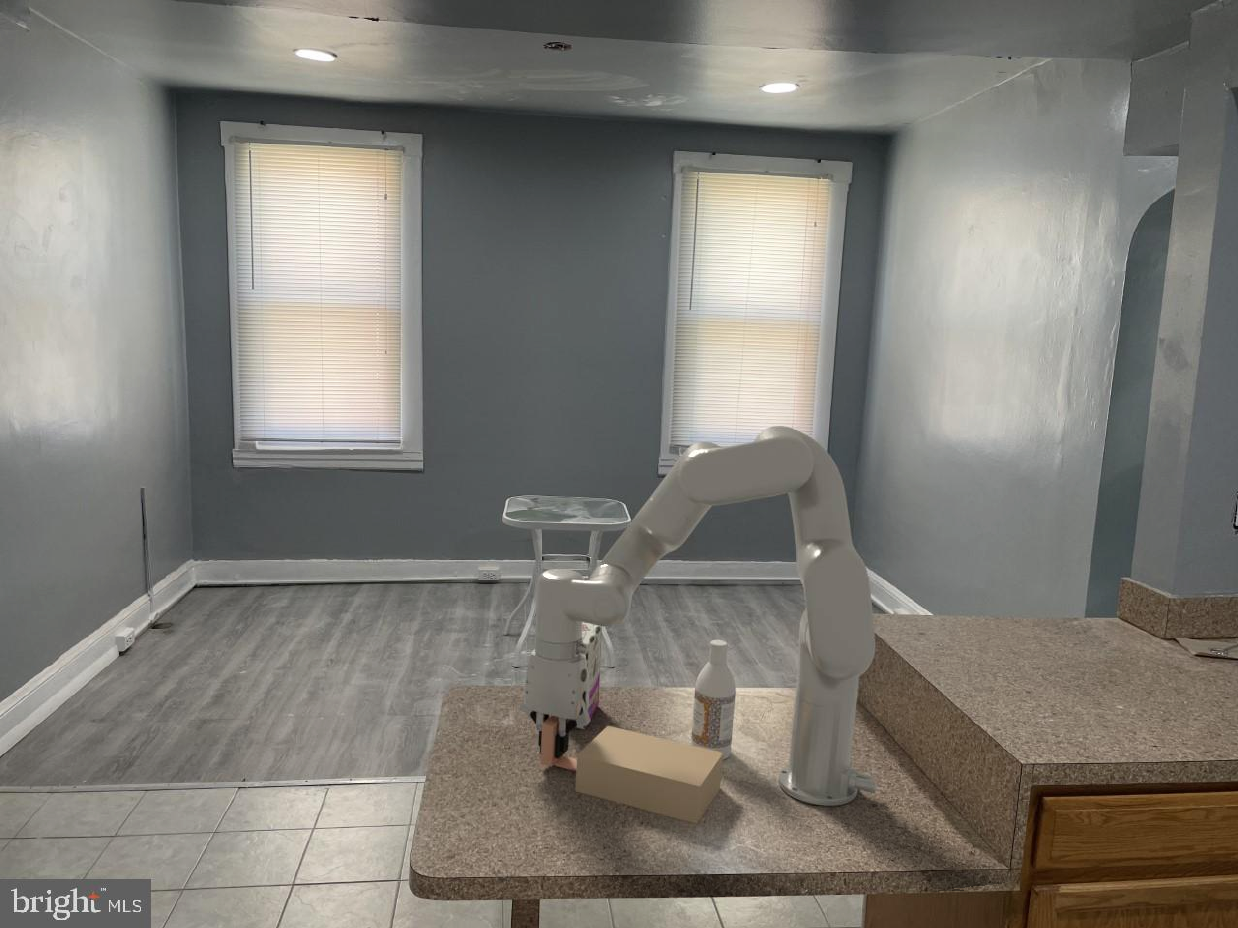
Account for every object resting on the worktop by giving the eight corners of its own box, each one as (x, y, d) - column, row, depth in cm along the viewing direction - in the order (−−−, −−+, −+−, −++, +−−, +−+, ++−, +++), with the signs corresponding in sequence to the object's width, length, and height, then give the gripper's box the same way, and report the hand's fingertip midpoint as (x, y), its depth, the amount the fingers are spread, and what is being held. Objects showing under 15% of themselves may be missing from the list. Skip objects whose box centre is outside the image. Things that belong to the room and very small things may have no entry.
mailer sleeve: (720, 787, 149) (723, 752, 148) (697, 823, 138) (700, 786, 137) (605, 759, 156) (607, 725, 155) (575, 791, 145) (577, 755, 144)
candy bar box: (573, 702, 178) (577, 620, 176) (599, 706, 177) (603, 623, 175) (558, 727, 167) (562, 639, 165) (585, 730, 166) (589, 643, 164)
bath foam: (683, 746, 163) (691, 637, 159) (718, 741, 165) (726, 633, 162) (702, 764, 156) (710, 651, 153) (738, 759, 159) (747, 647, 156)
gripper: (612, 648, 151) (606, 754, 154) (525, 630, 157) (521, 733, 160) (593, 663, 144) (587, 774, 147) (503, 644, 150) (499, 751, 153)
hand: (553, 752), depth 153 cm, fingers closed
